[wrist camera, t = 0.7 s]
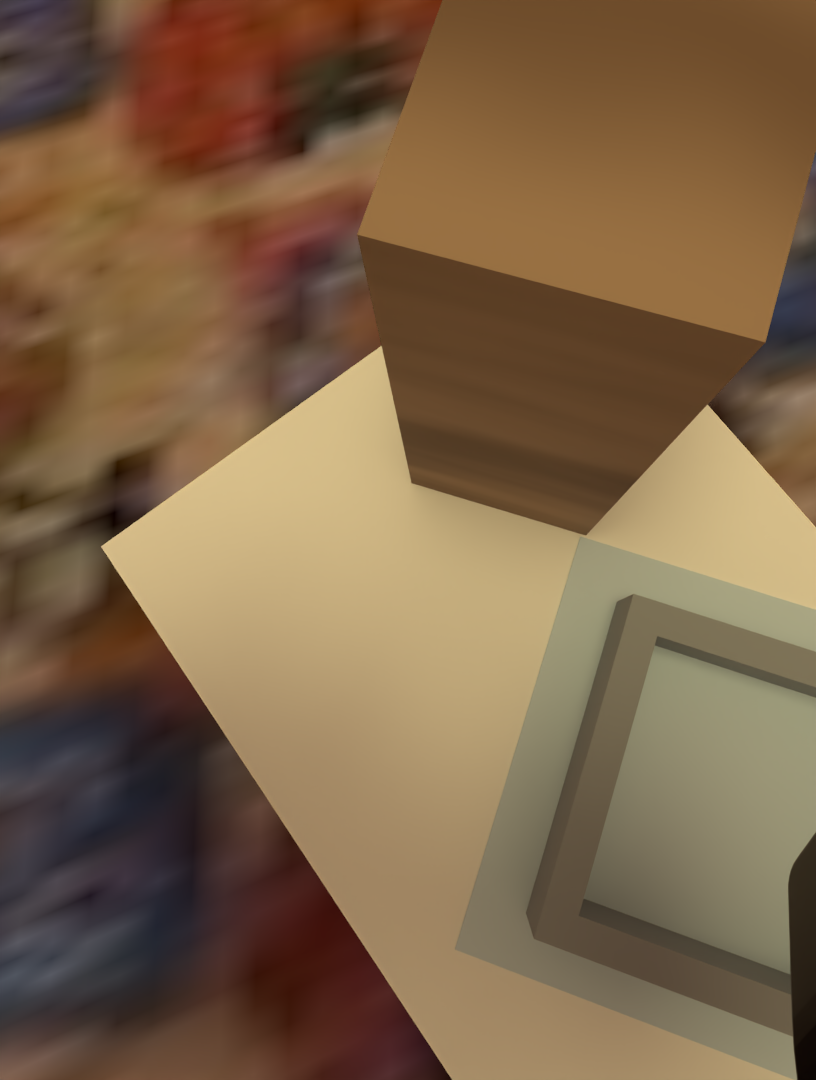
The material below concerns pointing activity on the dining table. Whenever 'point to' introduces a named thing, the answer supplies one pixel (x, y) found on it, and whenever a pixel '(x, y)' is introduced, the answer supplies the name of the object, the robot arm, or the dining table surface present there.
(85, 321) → the dining table surface
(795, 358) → the dining table surface
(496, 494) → the walnut pillar
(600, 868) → the cream flat board
